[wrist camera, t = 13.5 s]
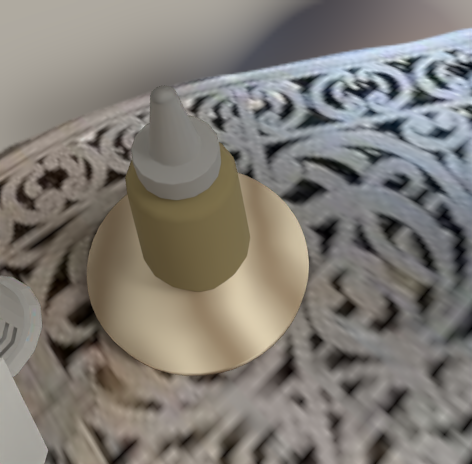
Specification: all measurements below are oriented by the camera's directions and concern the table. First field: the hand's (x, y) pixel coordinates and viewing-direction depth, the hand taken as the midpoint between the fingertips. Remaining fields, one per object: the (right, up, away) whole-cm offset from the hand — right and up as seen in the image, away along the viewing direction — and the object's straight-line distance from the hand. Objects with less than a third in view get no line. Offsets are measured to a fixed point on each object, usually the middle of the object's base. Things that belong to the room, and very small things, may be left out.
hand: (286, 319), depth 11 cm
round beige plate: (-4, -1, +26) cm, 26 cm away
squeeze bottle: (-4, 0, +25) cm, 25 cm away
